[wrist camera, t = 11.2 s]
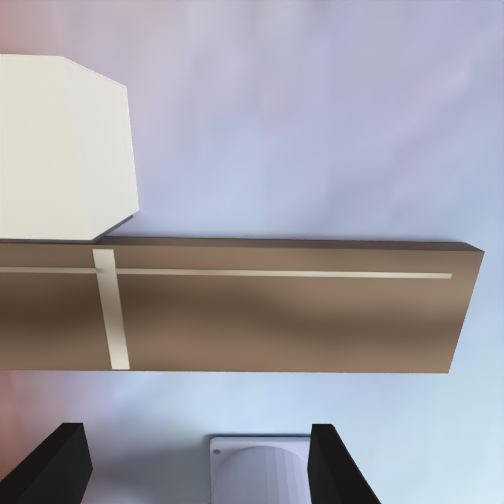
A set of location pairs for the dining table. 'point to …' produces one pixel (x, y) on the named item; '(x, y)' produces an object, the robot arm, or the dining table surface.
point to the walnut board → (234, 305)
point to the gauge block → (63, 152)
